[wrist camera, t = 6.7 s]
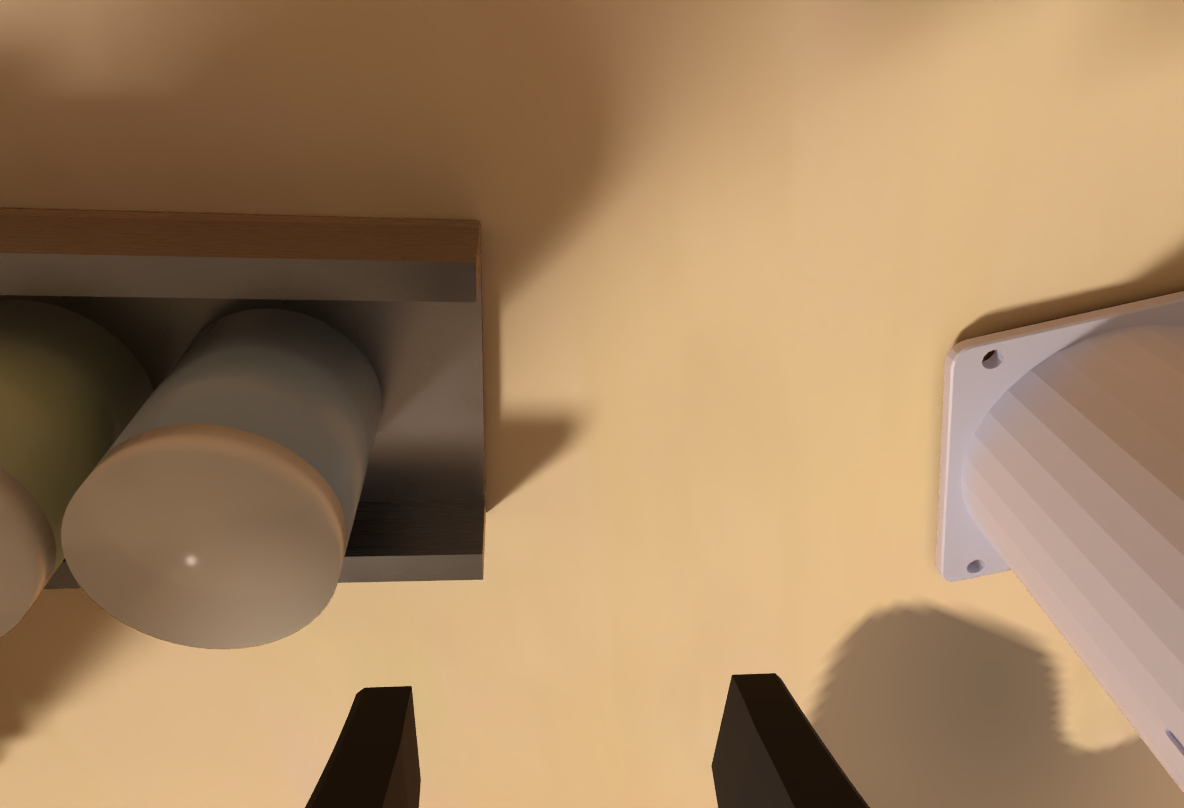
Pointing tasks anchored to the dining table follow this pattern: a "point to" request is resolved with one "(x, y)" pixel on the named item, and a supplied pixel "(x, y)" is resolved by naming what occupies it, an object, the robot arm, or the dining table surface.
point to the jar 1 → (53, 433)
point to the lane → (321, 290)
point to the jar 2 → (231, 486)
